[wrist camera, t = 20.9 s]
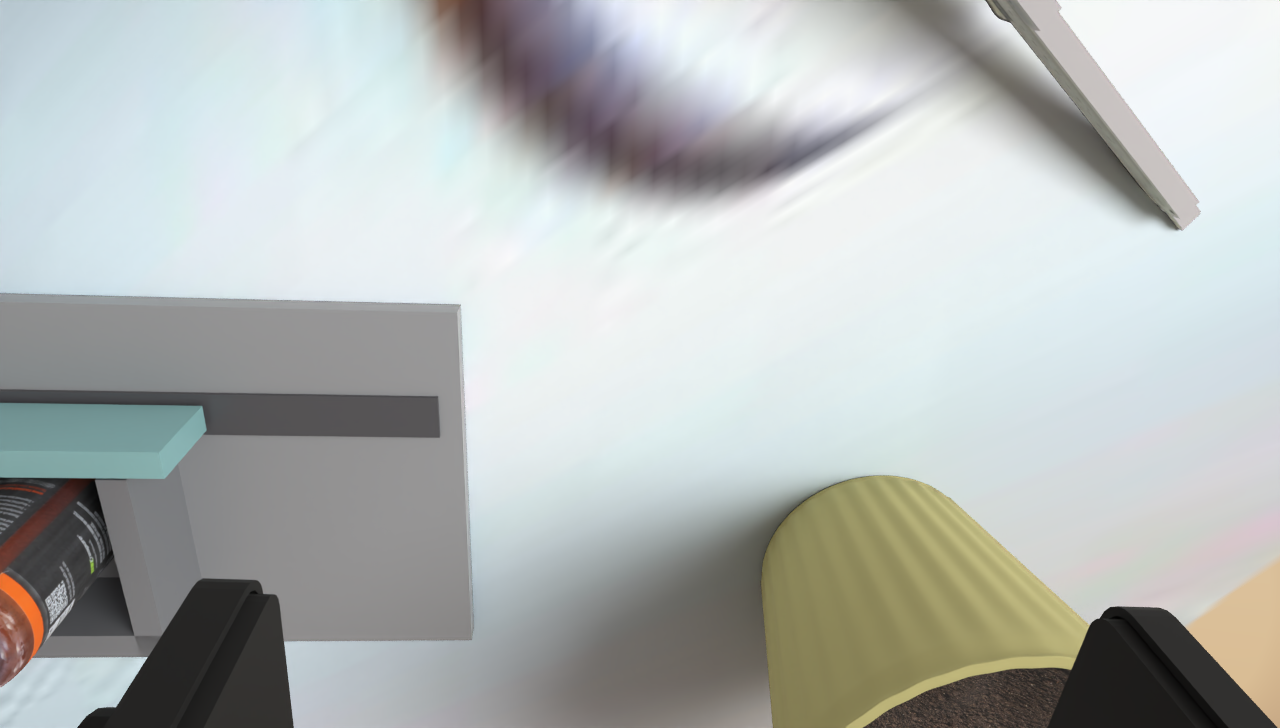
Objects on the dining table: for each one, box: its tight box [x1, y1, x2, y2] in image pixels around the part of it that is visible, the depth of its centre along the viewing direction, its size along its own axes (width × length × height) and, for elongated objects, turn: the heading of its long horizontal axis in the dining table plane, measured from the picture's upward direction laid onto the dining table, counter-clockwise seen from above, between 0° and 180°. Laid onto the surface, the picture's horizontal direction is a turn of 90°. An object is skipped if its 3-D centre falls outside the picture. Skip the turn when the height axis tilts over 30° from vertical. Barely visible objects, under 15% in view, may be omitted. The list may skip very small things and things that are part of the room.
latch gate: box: [0, 403, 207, 479], centre depth 34 cm, size 1×13×4 cm, turn 87°
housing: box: [0, 293, 474, 658], centre depth 37 cm, size 18×26×5 cm
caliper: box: [985, 0, 1201, 230], centre depth 31 cm, size 20×1×6 cm, turn 50°
